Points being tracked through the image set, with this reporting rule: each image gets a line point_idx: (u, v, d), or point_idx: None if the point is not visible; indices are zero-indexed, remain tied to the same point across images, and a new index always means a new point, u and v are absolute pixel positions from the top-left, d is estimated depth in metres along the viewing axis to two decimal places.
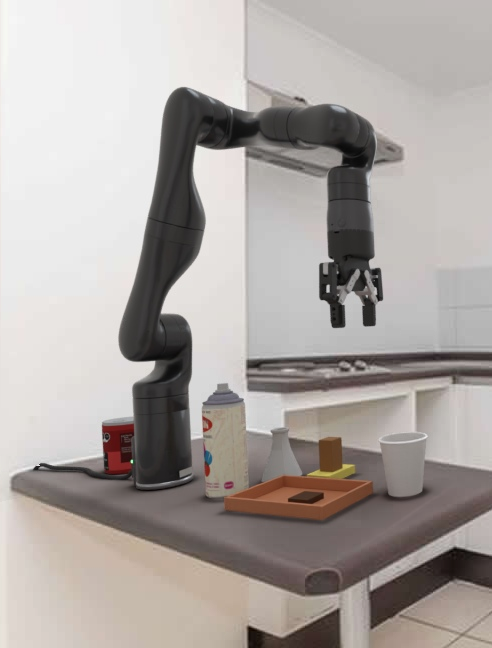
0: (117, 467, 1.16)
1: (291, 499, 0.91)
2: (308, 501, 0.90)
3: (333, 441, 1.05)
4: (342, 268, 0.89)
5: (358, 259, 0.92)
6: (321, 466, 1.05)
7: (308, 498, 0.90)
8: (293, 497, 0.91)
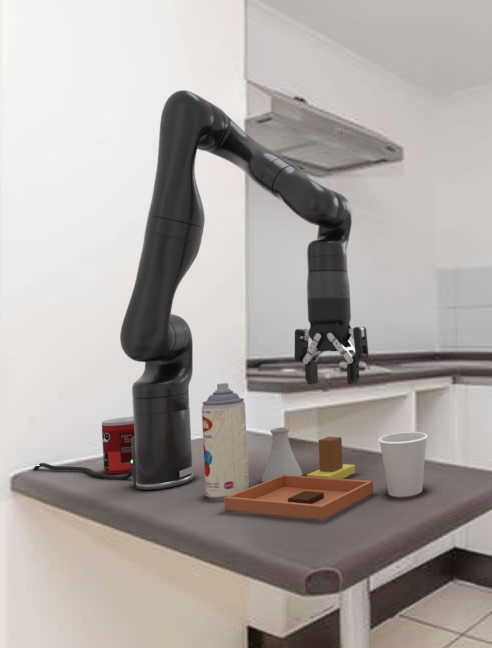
0: (117, 467, 1.16)
1: (291, 499, 0.91)
2: (308, 501, 0.90)
3: (333, 441, 1.05)
4: (308, 333, 1.03)
5: (325, 323, 1.01)
6: (321, 466, 1.05)
7: (308, 498, 0.90)
8: (293, 497, 0.91)
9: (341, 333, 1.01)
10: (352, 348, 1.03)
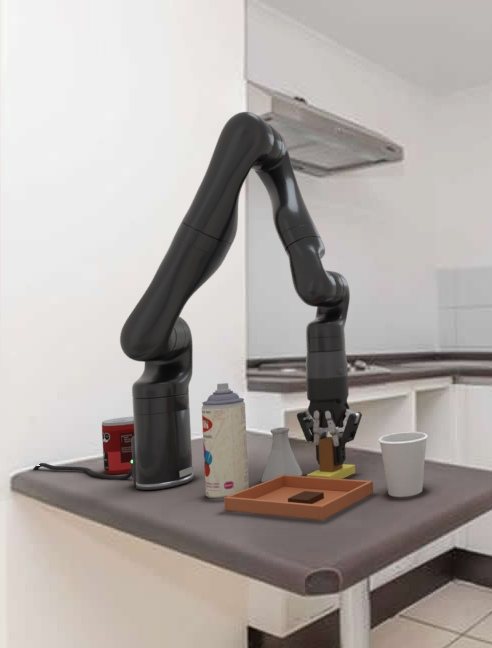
0: (117, 467, 1.16)
1: (291, 499, 0.91)
2: (308, 501, 0.90)
3: None
4: (308, 409, 1.06)
5: None
6: (321, 466, 1.05)
7: (308, 498, 0.90)
8: (293, 497, 0.91)
9: (338, 411, 1.04)
10: (343, 429, 1.06)
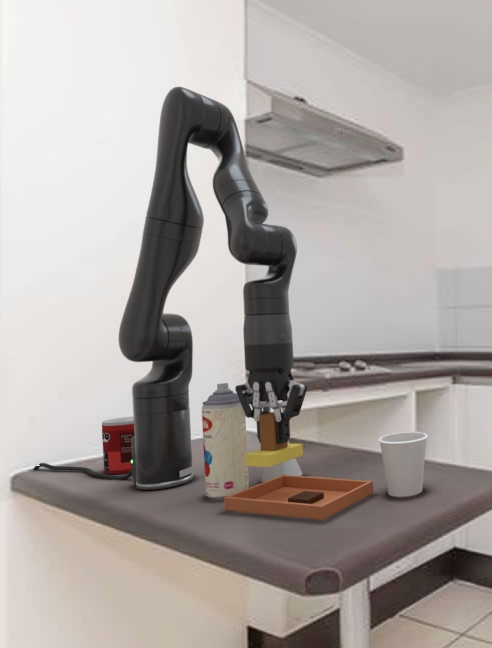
0: (117, 467, 1.16)
1: (291, 499, 0.91)
2: (308, 501, 0.90)
3: None
4: (248, 381, 0.94)
5: (263, 370, 0.93)
6: (262, 444, 0.93)
7: (308, 498, 0.90)
8: (293, 497, 0.91)
9: (280, 382, 0.92)
10: None
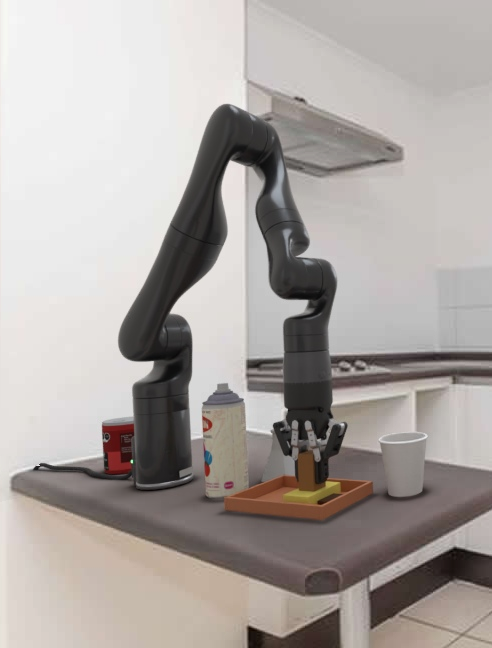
0: (117, 467, 1.16)
1: (321, 501, 0.89)
2: None
3: None
4: (286, 418, 0.92)
5: None
6: (300, 484, 0.91)
7: None
8: (323, 499, 0.90)
9: (320, 421, 0.89)
10: (326, 441, 0.92)
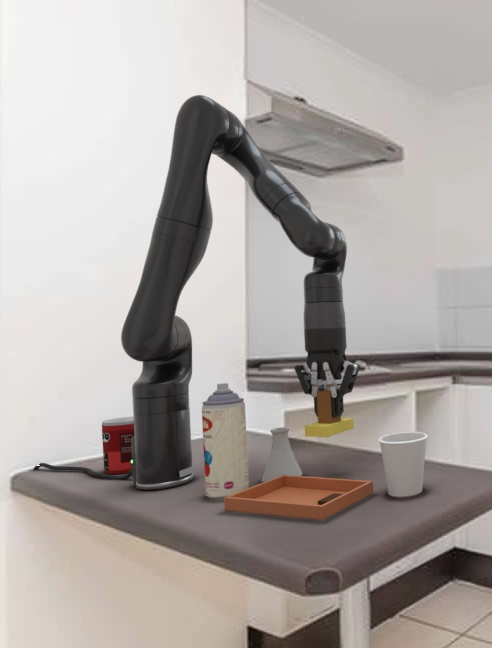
0: (117, 467, 1.16)
1: (321, 502, 0.89)
2: None
3: None
4: (306, 362, 1.06)
5: (321, 352, 1.04)
6: (319, 418, 1.05)
7: None
8: (323, 499, 0.90)
9: (336, 362, 1.04)
10: (341, 381, 1.06)
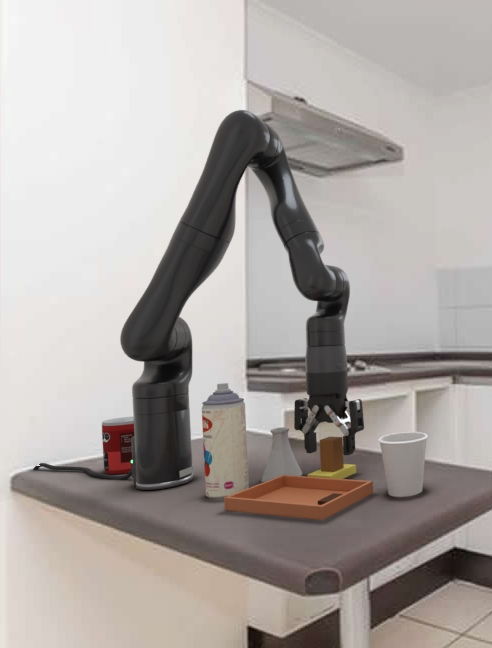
0: (117, 467, 1.16)
1: (321, 502, 0.89)
2: None
3: (334, 441, 1.05)
4: (307, 404, 1.06)
5: None
6: (322, 466, 1.05)
7: None
8: (323, 499, 0.90)
9: (338, 406, 1.04)
10: (349, 419, 1.05)
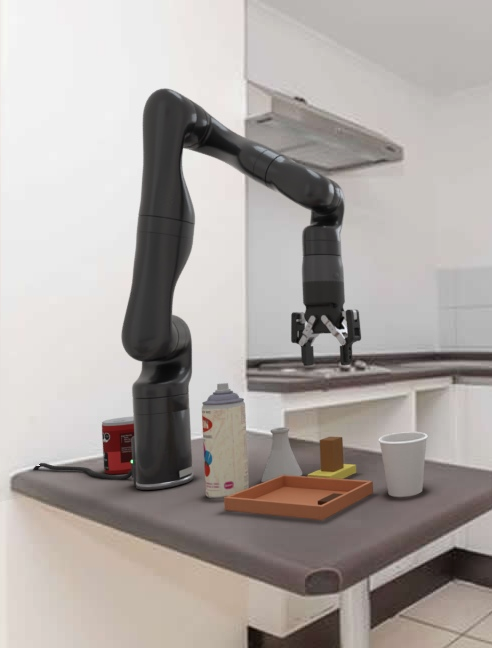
0: (117, 467, 1.16)
1: (321, 502, 0.89)
2: None
3: (334, 441, 1.05)
4: (304, 316, 1.06)
5: (319, 305, 1.04)
6: (322, 466, 1.05)
7: None
8: (323, 499, 0.90)
9: (334, 315, 1.03)
10: (346, 330, 1.05)
